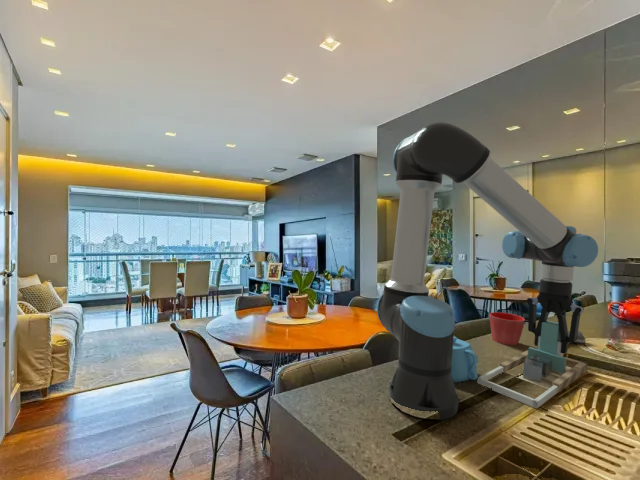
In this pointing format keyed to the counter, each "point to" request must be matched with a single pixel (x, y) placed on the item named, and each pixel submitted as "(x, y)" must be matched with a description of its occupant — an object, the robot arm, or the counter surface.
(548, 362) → the block
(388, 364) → the counter surface
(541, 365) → the block
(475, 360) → the teapot
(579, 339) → the stone
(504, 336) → the flower pot
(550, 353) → the rake tool
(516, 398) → the tray
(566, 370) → the slot board
